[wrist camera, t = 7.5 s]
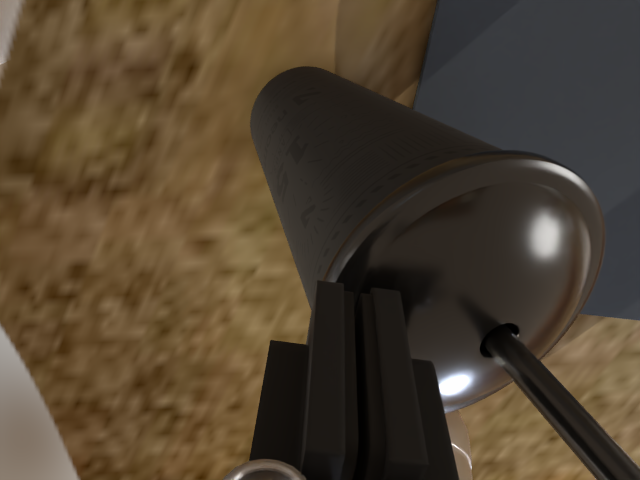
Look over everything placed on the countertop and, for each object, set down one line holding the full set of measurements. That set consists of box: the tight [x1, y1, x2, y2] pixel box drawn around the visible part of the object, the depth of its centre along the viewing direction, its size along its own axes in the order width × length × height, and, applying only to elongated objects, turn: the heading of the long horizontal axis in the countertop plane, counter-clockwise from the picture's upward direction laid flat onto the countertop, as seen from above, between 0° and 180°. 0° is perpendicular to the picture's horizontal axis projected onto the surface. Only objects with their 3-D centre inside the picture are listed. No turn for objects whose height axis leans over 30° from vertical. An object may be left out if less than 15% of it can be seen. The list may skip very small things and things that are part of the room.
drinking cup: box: [250, 67, 640, 480], centre depth 15 cm, size 8×8×20 cm
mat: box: [413, 0, 640, 320], centre depth 24 cm, size 20×20×1 cm
